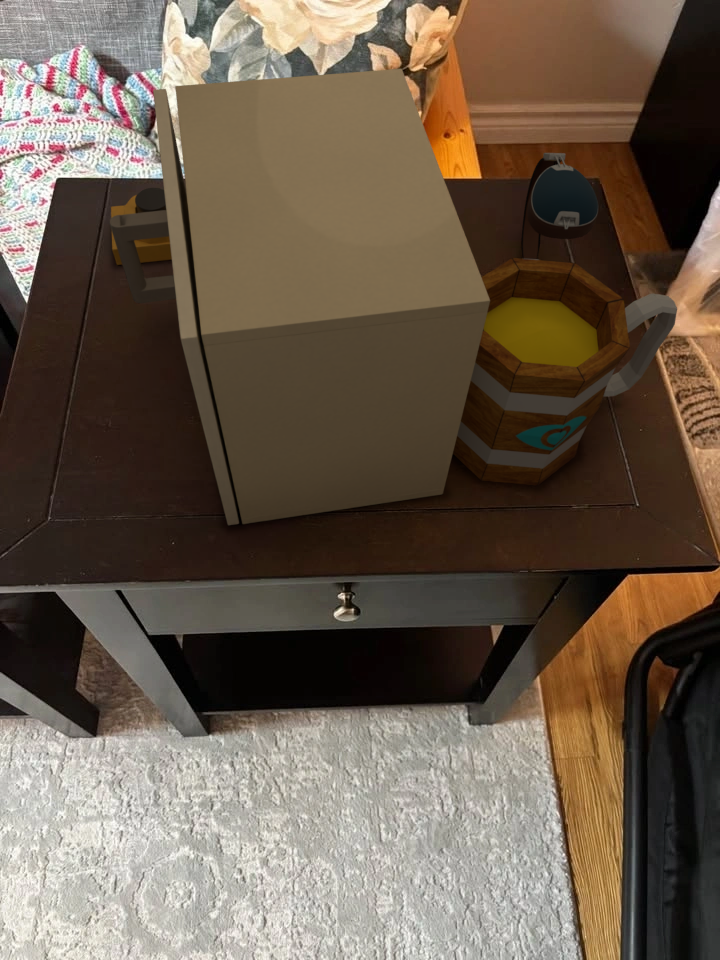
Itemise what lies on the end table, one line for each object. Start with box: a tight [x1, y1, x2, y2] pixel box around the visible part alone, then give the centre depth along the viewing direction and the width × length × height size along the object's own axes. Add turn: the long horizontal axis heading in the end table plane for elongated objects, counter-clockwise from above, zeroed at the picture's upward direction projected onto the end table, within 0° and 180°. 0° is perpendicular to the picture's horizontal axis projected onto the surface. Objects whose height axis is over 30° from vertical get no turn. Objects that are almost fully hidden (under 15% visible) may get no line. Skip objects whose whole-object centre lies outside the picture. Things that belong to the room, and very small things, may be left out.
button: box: [135, 187, 166, 213], centre depth 80 cm, size 4×4×2 cm
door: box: [109, 88, 240, 526], centre depth 61 cm, size 7×26×24 cm, turn 12°
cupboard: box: [174, 68, 490, 525], centre depth 63 cm, size 18×26×24 cm
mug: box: [452, 257, 678, 486], centre depth 66 cm, size 20×14×15 cm
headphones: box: [520, 152, 599, 260], centre depth 74 cm, size 6×15×22 cm
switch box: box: [110, 194, 172, 266], centre depth 82 cm, size 10×7×4 cm
